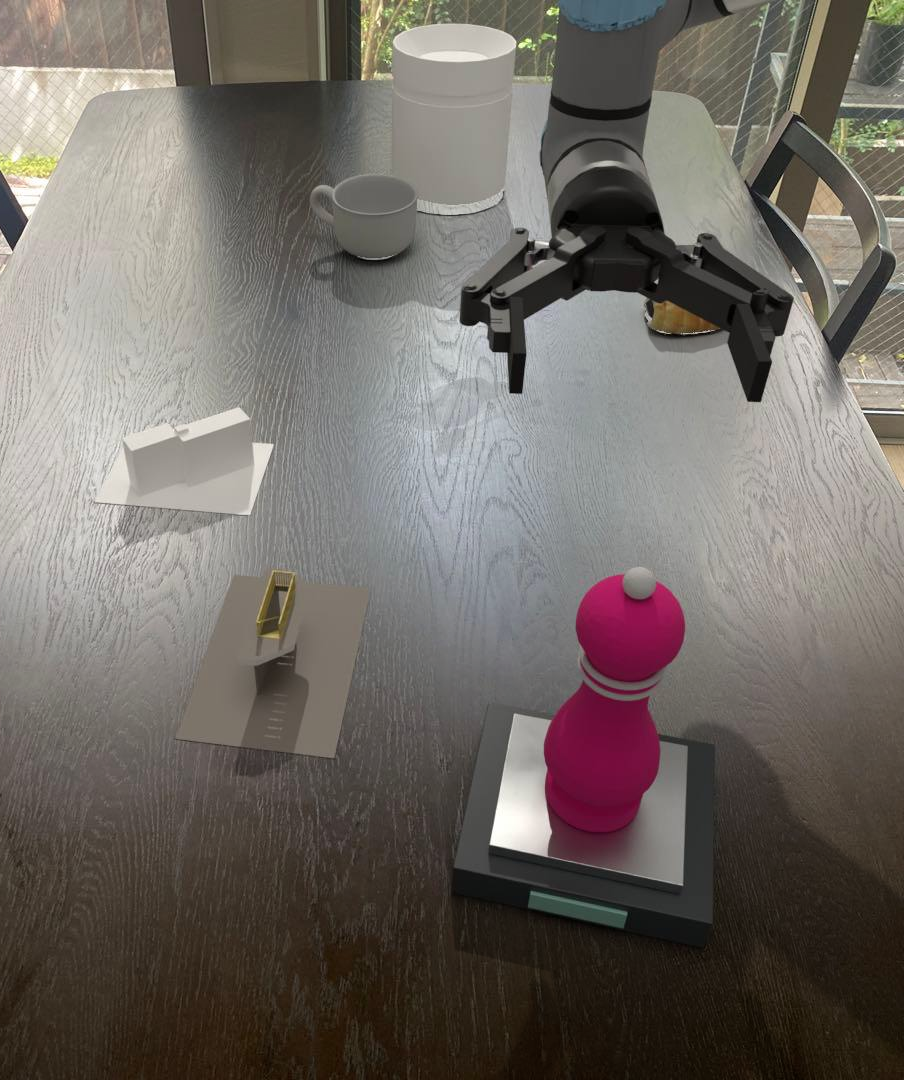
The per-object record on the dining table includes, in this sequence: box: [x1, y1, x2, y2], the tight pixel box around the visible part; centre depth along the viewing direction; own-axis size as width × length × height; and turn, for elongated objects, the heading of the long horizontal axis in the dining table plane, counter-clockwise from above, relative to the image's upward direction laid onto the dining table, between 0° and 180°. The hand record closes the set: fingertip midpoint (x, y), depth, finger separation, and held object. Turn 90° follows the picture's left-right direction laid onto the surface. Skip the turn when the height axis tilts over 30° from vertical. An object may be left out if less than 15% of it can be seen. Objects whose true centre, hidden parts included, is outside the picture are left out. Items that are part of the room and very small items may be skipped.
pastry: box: [643, 297, 720, 335], centre depth 123 cm, size 9×7×4 cm
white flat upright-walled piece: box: [94, 406, 275, 516], centre depth 102 cm, size 15×11×6 cm
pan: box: [488, 714, 688, 894], centre depth 72 cm, size 12×11×1 cm
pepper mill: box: [544, 566, 686, 832], centre depth 65 cm, size 7×7×20 cm
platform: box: [174, 567, 372, 759], centre depth 84 cm, size 12×18×7 cm, turn 171°
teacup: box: [309, 173, 418, 258], centre depth 137 cm, size 14×11×8 cm
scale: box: [450, 702, 716, 949], centre depth 73 cm, size 16×14×3 cm
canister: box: [390, 23, 518, 205], centre depth 146 cm, size 16×16×20 cm
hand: (638, 378), depth 61 cm, fingers open, 13 cm apart
